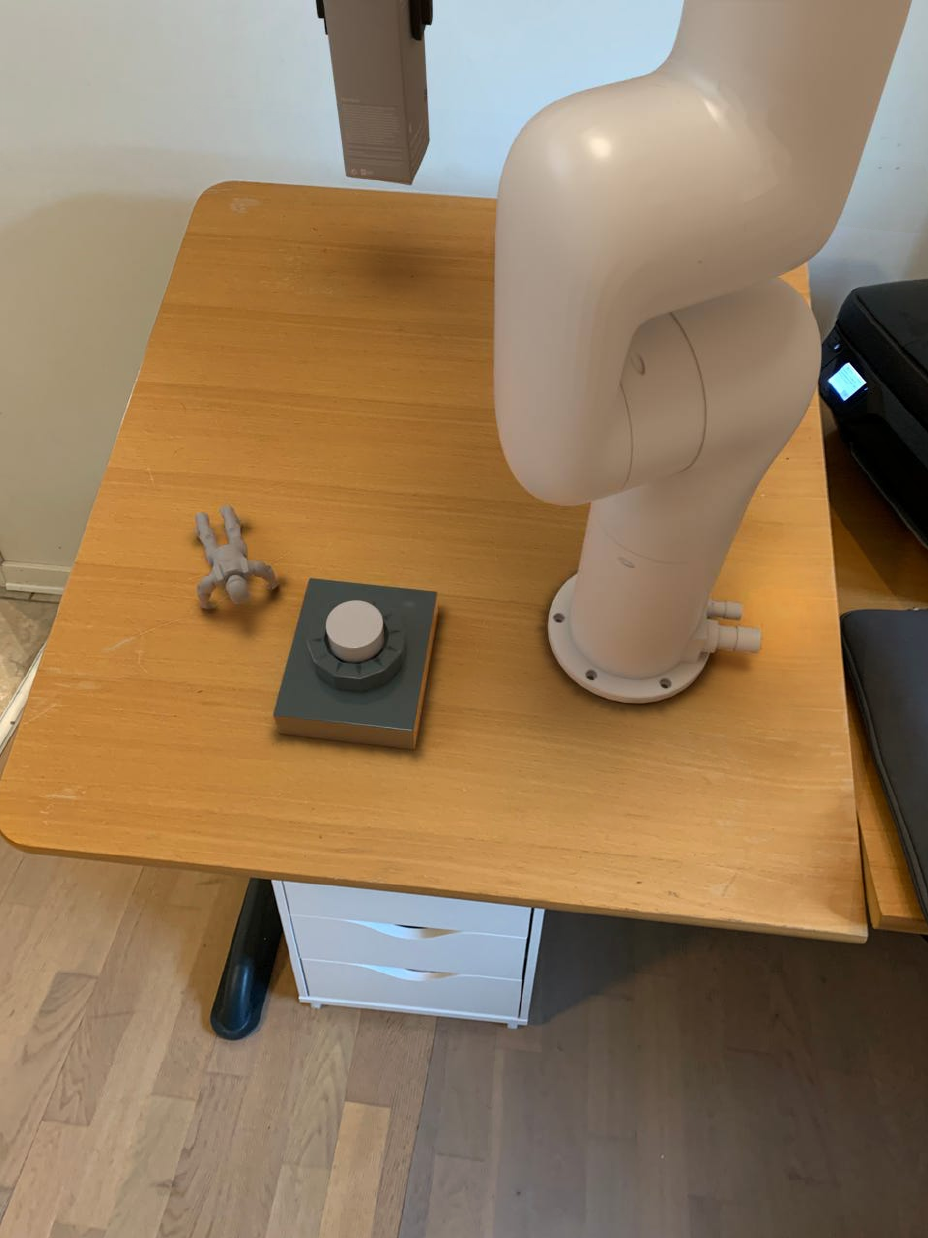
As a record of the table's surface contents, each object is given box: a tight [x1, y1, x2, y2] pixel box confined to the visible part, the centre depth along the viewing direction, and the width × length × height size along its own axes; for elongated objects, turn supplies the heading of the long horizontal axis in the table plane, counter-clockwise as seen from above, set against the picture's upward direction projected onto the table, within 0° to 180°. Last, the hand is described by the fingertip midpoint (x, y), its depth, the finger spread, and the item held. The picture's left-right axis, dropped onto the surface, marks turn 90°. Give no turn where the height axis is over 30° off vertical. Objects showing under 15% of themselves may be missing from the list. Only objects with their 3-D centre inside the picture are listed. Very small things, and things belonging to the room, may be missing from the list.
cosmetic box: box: [323, 0, 431, 186], centre depth 80 cm, size 8×7×16 cm
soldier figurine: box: [193, 504, 280, 610], centre depth 73 cm, size 6×5×12 cm
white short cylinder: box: [326, 600, 385, 663], centre depth 66 cm, size 4×4×2 cm
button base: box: [272, 577, 439, 750], centre depth 69 cm, size 10×12×5 cm
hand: (376, 28), depth 78 cm, fingers closed on cosmetic box, 6 cm apart
